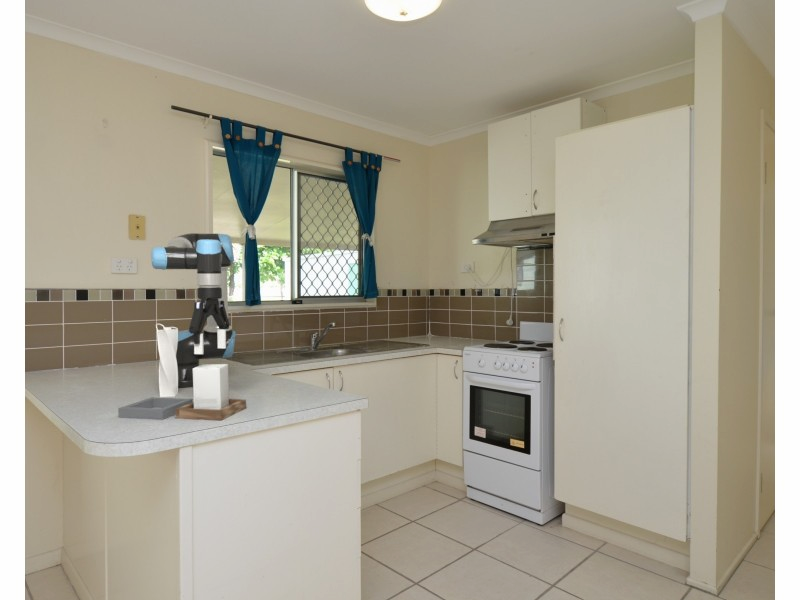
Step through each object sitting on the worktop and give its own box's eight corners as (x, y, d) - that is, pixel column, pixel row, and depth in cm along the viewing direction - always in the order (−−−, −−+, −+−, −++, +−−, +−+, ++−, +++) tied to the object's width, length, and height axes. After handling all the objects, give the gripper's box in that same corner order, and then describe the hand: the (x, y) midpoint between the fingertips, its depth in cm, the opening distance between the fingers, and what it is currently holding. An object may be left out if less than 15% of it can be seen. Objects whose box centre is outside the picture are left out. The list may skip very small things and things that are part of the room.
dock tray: (203, 406, 178) (203, 397, 177) (246, 408, 174) (245, 399, 174) (175, 418, 162) (175, 409, 162) (221, 420, 159) (220, 411, 159)
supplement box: (229, 407, 173) (229, 363, 172) (221, 413, 164) (220, 367, 163) (203, 407, 173) (202, 363, 172) (192, 414, 164) (191, 368, 163)
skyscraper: (155, 398, 191) (153, 324, 190) (158, 394, 198) (157, 322, 198) (177, 396, 193) (176, 323, 192) (180, 392, 201) (179, 322, 200)
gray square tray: (151, 405, 179) (151, 397, 179) (192, 407, 176) (192, 398, 176) (118, 417, 164) (118, 408, 163) (162, 419, 160) (162, 410, 160)
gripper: (219, 286, 180) (220, 345, 181) (175, 287, 155) (177, 356, 156) (239, 286, 178) (240, 346, 179) (197, 287, 154) (199, 356, 155)
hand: (210, 351), depth 168 cm, fingers open, 13 cm apart
